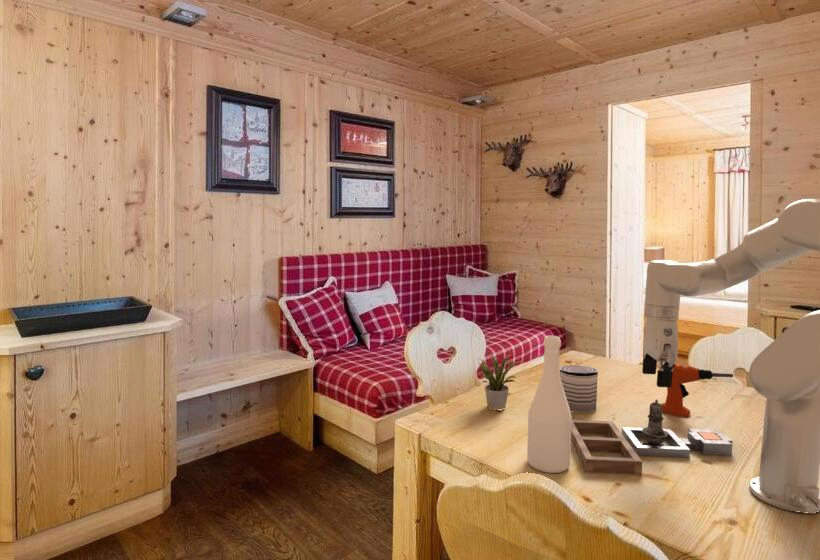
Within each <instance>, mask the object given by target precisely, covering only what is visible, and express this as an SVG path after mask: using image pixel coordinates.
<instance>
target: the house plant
mask: <svg viewBox="0 0 820 560" xmlns="http://www.w3.org/2000/svg"><path fill="white" fill-rule="evenodd" d="M487 356H488V357H489V358H490V359H491V361H492V366H493V371H494V374H493V372H492V370H491V368H490V366H489V365H488V364H487V362H485V361H484V360H483V359H481V358H478V357H477V359H478V360H480V361H481V362H482V363H480V362H479V363H478V364H479V366H480V370H481V371H482V372H480V373H479V374H478V376H479V377H481V378H482V377H483V378H484V379H487V380H488V381H487V380H482V383H487V384H486V385H485V386H484V391H485V397H486V398H485V399H486V403H487V404H486V405H487V408H488V407H490V408H492V409H503V408H505V409H506V407H507V400H508V395H509V391H510V387H509V386H508V385H505V384H506V383H511V382H515V383H516V381H515V380H514V379H517V376H515V375H510V376H509V377H507V378H506V379H505V377H506V375H507V374H508V372H509V371H510V370H511V369H512V368H514V366H515V365H517V364H519V363H523V362H526V361H525V360H520V361H517V362H514V360H508V359H509V357H510V356H511V354H508V355H506V356H505V357H504V358H503V360H502V361H501V364H500V367H499V360H498V357H497V355H494V357H495V358H494V357H493V356H492V355H490V354H487ZM507 362H508V364H507V365H506V363H507ZM505 365H506V366H505ZM504 368H505V369H504ZM513 378H514V379H513Z"/></svg>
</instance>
